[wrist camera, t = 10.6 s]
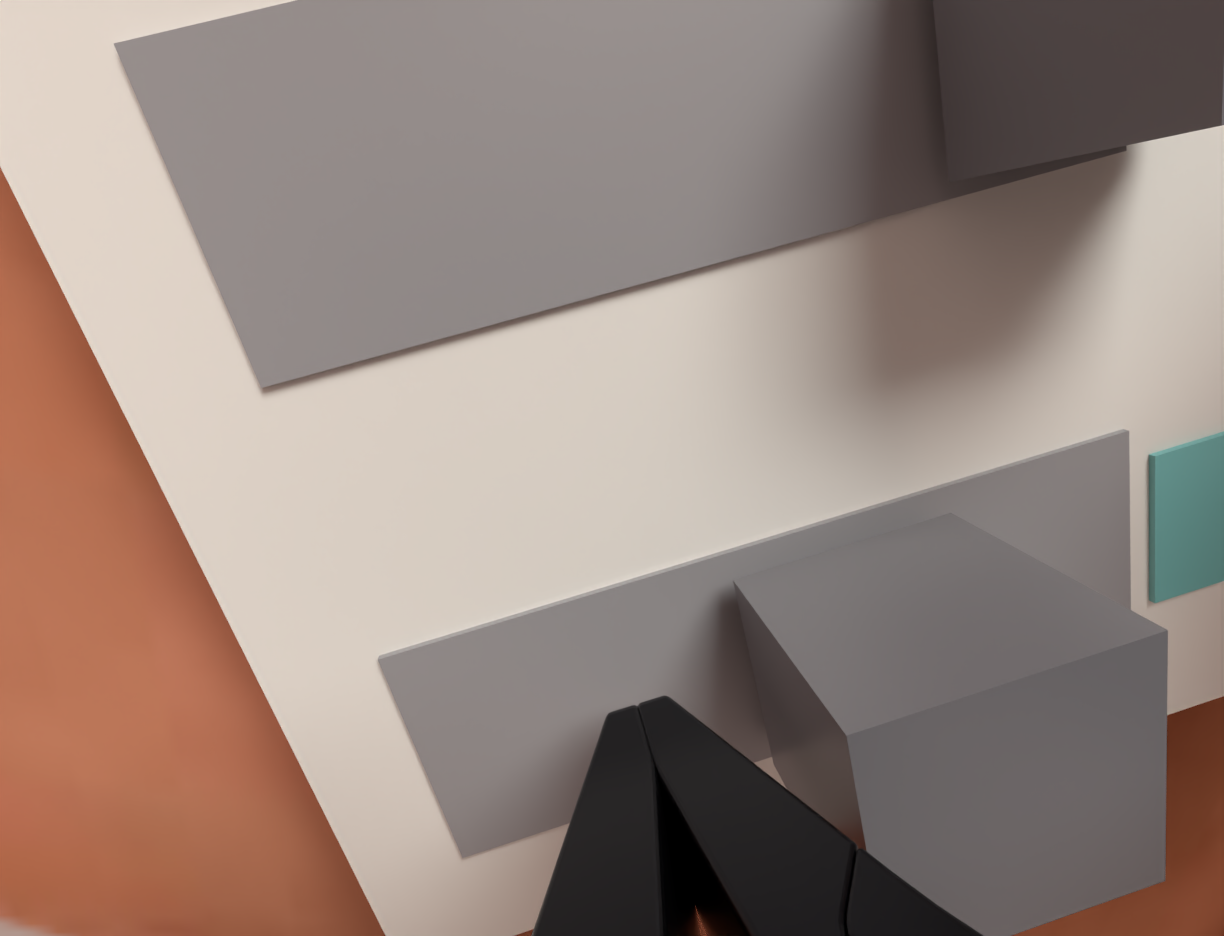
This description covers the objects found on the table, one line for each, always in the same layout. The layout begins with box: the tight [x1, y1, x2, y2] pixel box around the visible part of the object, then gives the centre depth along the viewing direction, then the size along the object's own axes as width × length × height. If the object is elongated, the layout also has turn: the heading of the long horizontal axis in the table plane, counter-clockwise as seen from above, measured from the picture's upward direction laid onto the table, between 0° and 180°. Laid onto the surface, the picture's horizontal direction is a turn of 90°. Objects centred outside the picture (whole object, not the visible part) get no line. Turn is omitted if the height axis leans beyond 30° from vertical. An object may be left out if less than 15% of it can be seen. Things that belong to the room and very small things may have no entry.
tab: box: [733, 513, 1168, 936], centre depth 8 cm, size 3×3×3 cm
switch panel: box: [0, 0, 1224, 936], centre depth 9 cm, size 14×14×2 cm
